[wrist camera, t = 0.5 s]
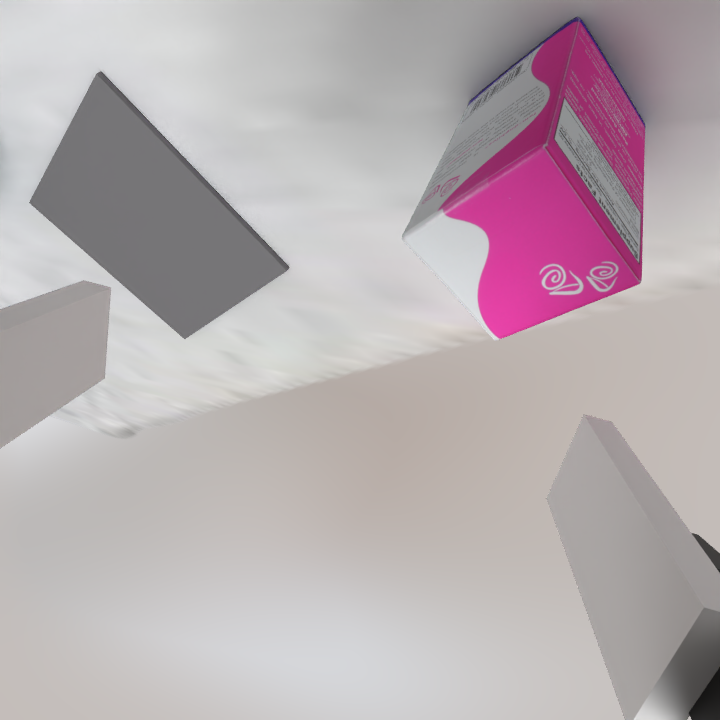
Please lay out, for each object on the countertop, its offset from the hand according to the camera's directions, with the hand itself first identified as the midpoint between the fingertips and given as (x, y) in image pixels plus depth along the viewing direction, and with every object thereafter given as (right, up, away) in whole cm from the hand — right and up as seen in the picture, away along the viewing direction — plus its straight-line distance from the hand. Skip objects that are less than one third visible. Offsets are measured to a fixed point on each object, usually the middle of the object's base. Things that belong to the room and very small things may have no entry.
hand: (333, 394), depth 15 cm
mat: (-15, +11, +26) cm, 32 cm away
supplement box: (+10, +12, +10) cm, 19 cm away
